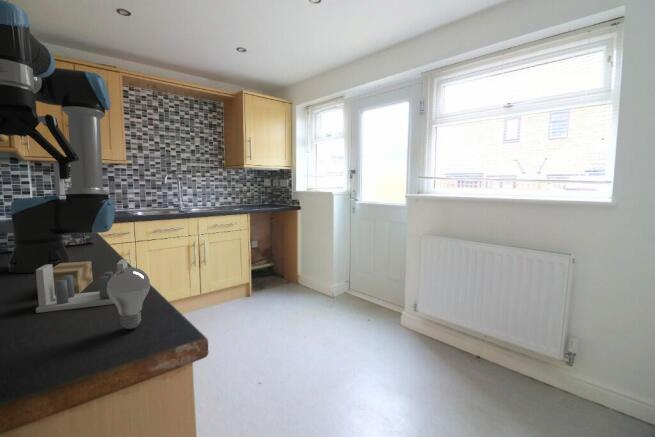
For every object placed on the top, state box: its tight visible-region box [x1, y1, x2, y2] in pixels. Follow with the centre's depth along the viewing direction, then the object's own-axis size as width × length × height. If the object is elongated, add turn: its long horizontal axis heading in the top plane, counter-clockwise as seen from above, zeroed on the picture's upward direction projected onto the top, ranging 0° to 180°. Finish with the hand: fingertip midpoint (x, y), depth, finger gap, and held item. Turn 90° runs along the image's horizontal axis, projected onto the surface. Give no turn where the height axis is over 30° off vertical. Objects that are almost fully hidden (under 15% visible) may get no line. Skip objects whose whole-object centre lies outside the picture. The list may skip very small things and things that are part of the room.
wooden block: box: [53, 260, 94, 296], centre depth 83 cm, size 11×7×6 cm, turn 22°
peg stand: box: [35, 258, 128, 314], centre depth 74 cm, size 8×16×9 cm, turn 113°
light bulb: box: [107, 266, 151, 331], centre depth 60 cm, size 7×7×12 cm
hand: (19, 195), depth 65 cm, fingers open, 13 cm apart
